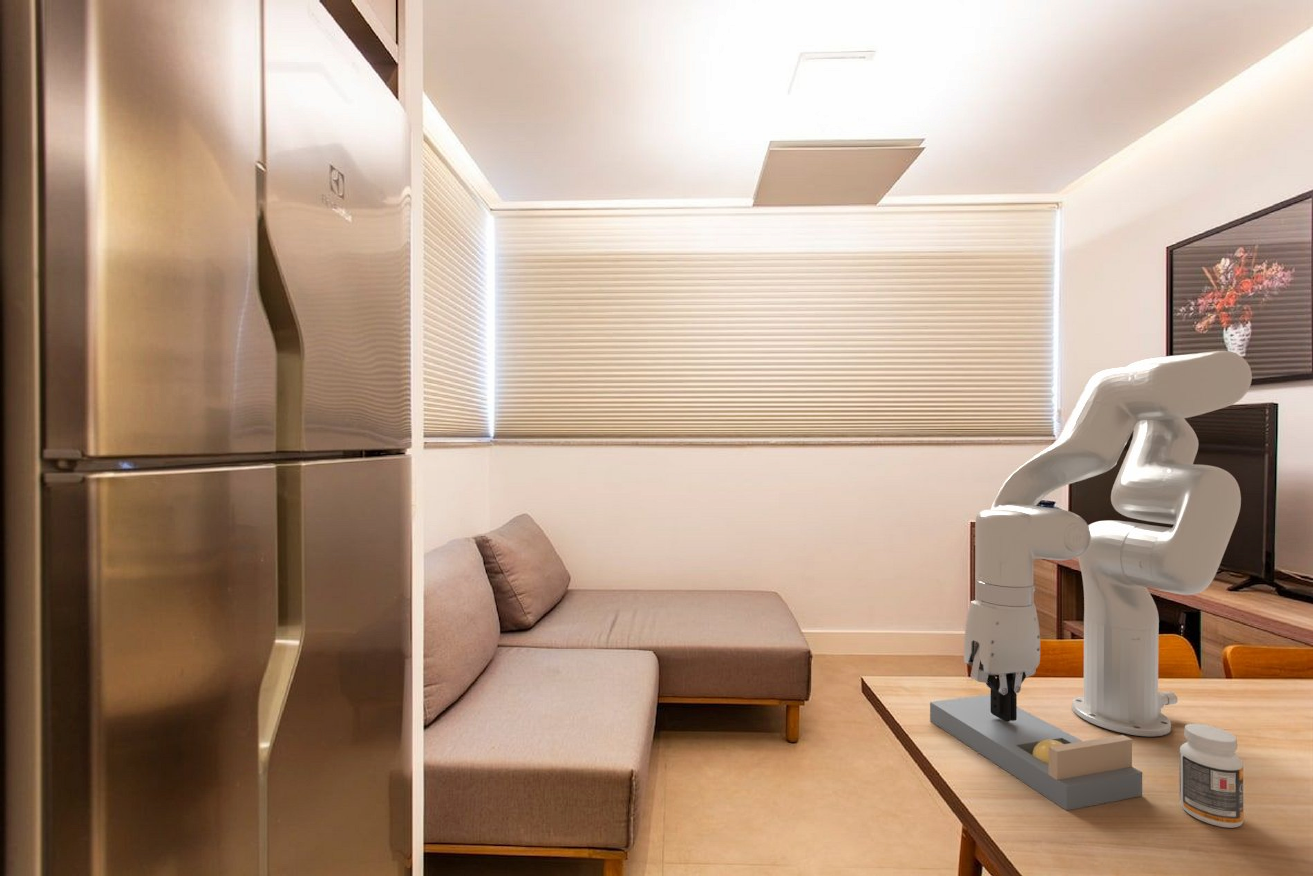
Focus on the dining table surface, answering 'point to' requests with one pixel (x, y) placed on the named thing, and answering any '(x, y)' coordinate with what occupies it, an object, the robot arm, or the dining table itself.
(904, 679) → the dining table surface
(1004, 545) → the robot arm
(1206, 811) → the pill bottle
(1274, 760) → the dining table surface
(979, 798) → the dining table surface
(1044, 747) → the ball
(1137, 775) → the board
